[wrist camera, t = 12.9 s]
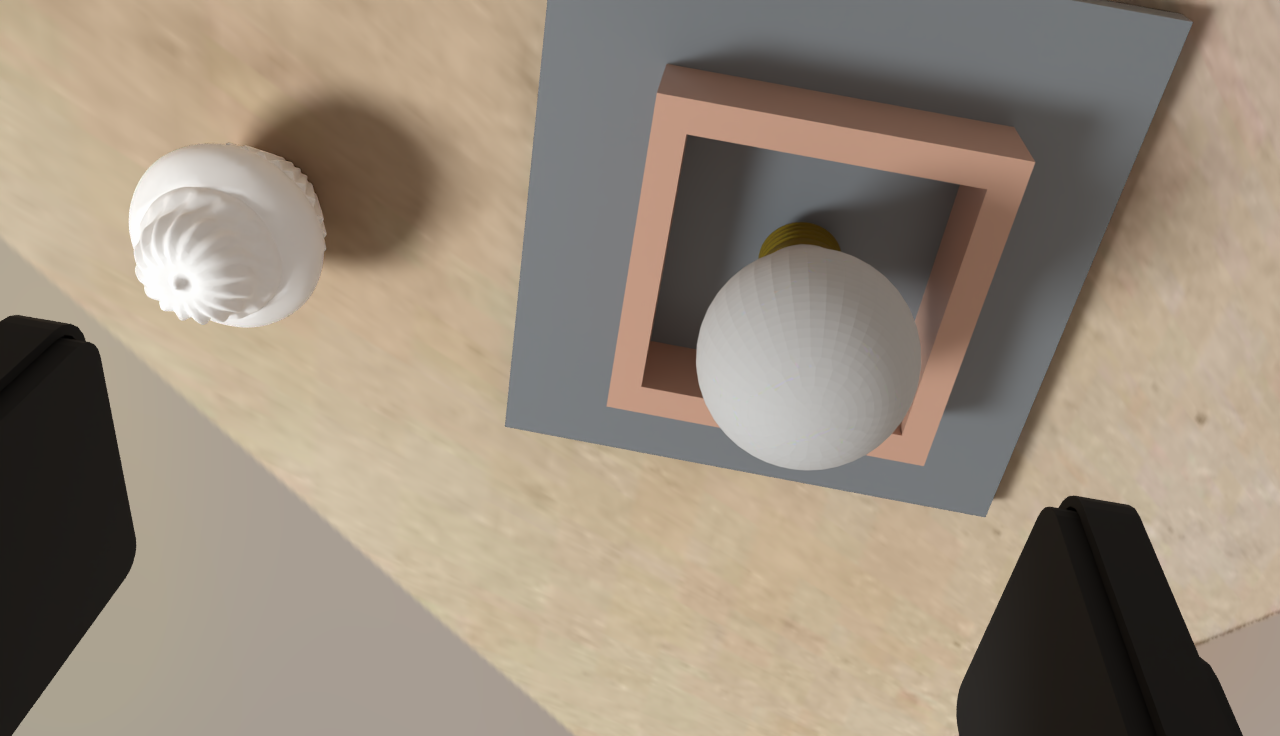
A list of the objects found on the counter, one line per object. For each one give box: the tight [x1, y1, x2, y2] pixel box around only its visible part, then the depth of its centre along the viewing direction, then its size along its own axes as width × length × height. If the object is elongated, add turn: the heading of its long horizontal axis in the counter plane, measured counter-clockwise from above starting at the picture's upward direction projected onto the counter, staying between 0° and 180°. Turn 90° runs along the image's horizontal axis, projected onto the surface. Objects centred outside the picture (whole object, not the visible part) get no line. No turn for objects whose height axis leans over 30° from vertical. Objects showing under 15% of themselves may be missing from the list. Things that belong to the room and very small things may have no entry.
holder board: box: [505, 0, 1193, 517], centre depth 33 cm, size 18×18×4 cm
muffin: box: [129, 142, 327, 327], centre depth 33 cm, size 6×6×7 cm
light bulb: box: [696, 222, 921, 470], centre depth 30 cm, size 6×6×10 cm
